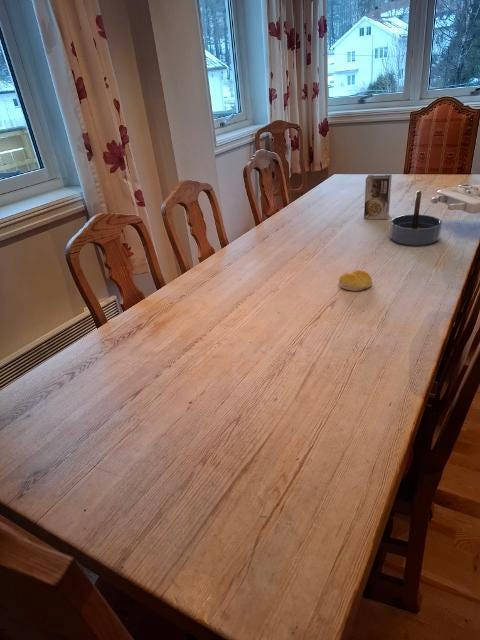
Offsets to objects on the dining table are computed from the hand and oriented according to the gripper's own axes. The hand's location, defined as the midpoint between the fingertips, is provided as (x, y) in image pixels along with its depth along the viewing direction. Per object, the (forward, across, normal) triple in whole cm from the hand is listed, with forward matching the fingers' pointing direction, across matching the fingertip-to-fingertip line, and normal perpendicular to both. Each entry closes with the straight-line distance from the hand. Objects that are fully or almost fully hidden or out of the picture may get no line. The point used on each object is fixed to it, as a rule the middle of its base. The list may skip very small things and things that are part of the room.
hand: (440, 203), depth 147 cm
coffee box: (+9, +27, -11) cm, 30 cm away
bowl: (+9, -1, -11) cm, 14 cm away
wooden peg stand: (+9, 0, -10) cm, 13 cm away
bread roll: (+43, -27, -11) cm, 52 cm away
